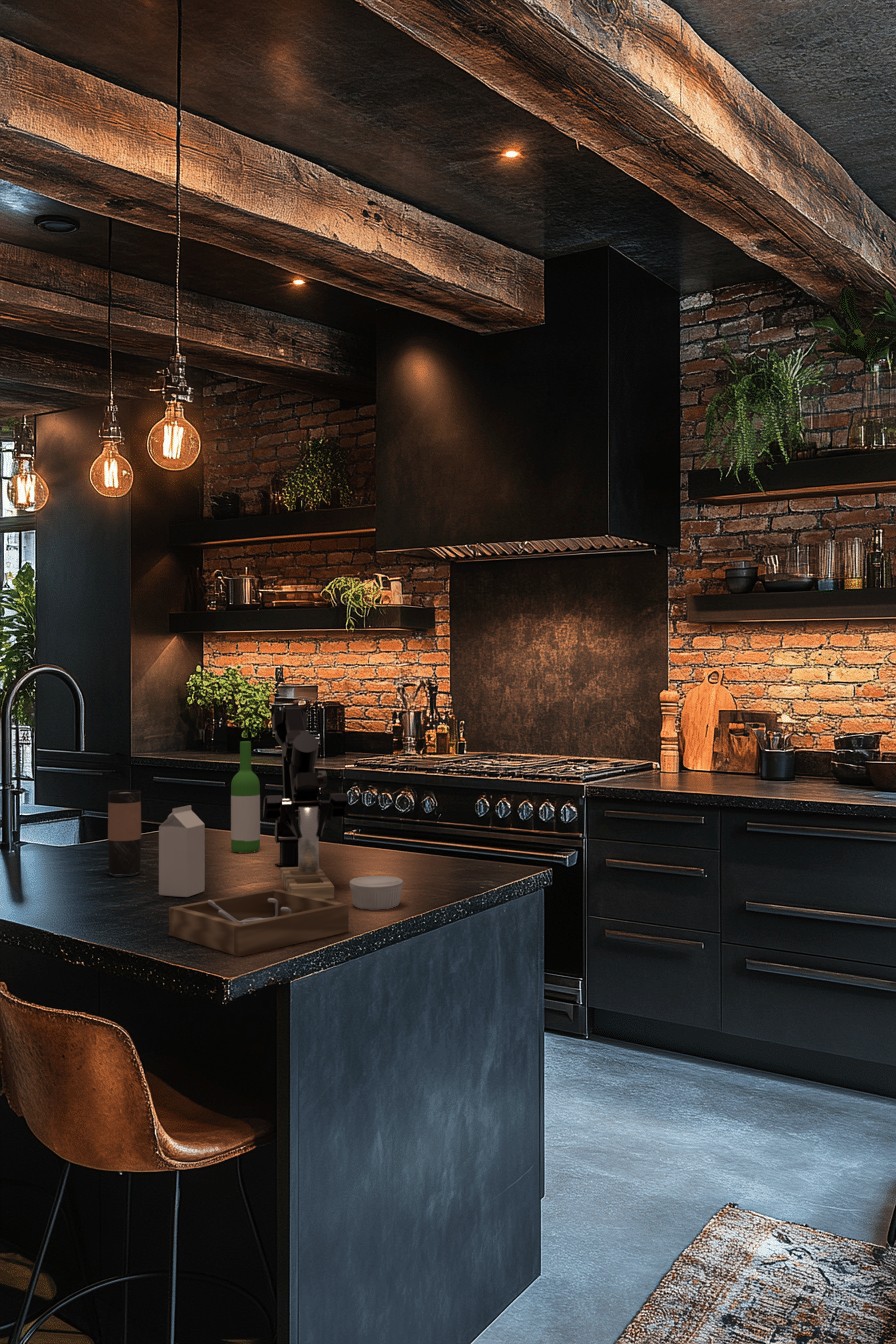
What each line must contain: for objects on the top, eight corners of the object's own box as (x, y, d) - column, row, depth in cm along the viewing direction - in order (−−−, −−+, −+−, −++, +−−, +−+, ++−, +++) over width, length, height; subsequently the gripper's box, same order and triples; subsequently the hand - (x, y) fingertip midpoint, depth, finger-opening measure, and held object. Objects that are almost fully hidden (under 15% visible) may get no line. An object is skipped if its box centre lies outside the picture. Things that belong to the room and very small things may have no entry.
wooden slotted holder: (280, 878, 249) (280, 867, 249) (318, 876, 251) (318, 865, 251) (291, 900, 223) (291, 888, 223) (334, 898, 226) (334, 886, 226)
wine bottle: (236, 849, 292) (236, 740, 292) (263, 849, 291) (263, 740, 291) (226, 853, 284) (226, 742, 284) (254, 854, 283) (254, 742, 283)
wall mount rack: (296, 937, 192) (296, 905, 192) (222, 946, 186) (222, 913, 186) (273, 920, 206) (273, 890, 206) (203, 927, 200) (203, 896, 201)
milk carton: (204, 891, 233) (204, 805, 233) (186, 898, 226) (186, 809, 227) (177, 889, 235) (177, 804, 236) (158, 896, 229) (158, 808, 229)
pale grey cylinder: (294, 871, 231) (294, 807, 231) (306, 867, 235) (306, 805, 235) (310, 873, 229) (310, 808, 229) (322, 869, 233) (322, 806, 233)
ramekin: (382, 914, 211) (382, 887, 211) (338, 908, 217) (338, 882, 217) (413, 904, 220) (413, 878, 220) (370, 898, 226) (370, 873, 226)
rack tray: (168, 934, 194) (168, 907, 194) (275, 913, 211) (275, 888, 211) (239, 956, 178) (239, 927, 178) (348, 931, 196) (348, 904, 196)
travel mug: (147, 873, 256) (147, 790, 256) (125, 878, 249) (125, 793, 249) (123, 870, 259) (123, 789, 259) (100, 876, 252) (101, 792, 252)
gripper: (264, 759, 234) (268, 815, 223) (347, 757, 239) (355, 812, 228) (261, 791, 242) (265, 847, 231) (342, 788, 246) (349, 843, 235)
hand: (309, 836), depth 231 cm, fingers closed on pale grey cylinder, 4 cm apart
